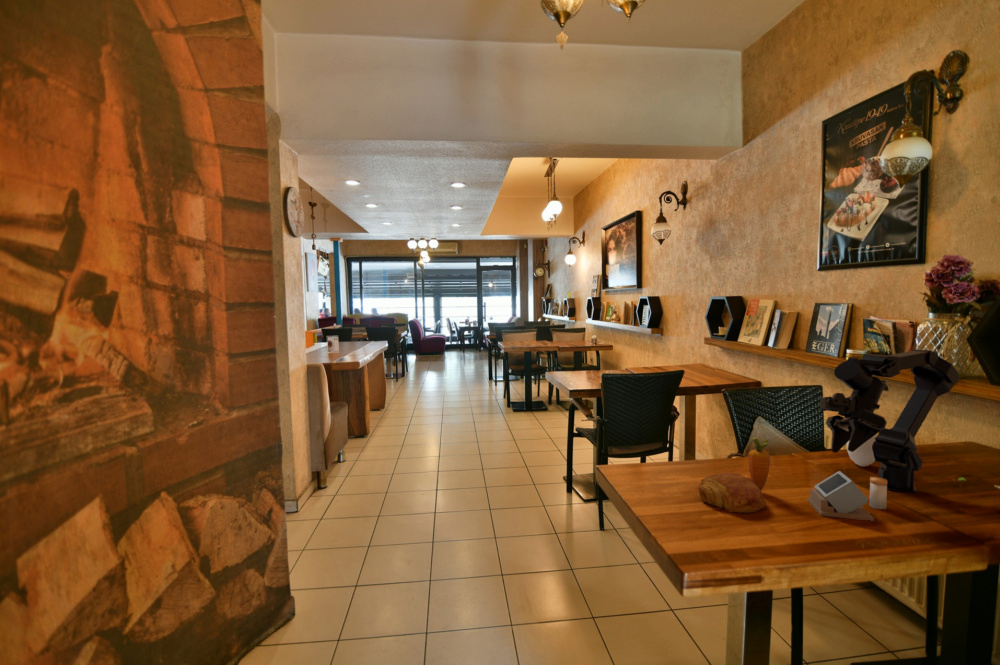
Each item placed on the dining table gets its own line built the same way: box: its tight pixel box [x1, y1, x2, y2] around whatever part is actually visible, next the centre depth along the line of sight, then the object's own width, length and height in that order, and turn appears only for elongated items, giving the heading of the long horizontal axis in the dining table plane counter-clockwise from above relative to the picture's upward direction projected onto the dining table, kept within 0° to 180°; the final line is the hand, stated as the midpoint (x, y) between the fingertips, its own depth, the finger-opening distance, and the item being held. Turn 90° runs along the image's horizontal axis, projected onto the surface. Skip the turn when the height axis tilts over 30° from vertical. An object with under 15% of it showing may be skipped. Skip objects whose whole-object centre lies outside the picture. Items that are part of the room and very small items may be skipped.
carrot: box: [748, 436, 771, 492], centre depth 123 cm, size 5×5×15 cm
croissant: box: [698, 472, 767, 514], centre depth 117 cm, size 14×16×8 cm
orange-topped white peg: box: [868, 476, 888, 510], centre depth 113 cm, size 3×3×7 cm
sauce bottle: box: [846, 433, 878, 468], centre depth 143 cm, size 8×8×18 cm
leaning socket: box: [807, 470, 875, 522], centre depth 111 cm, size 11×9×9 cm
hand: (841, 451), depth 118 cm, fingers open, 9 cm apart
